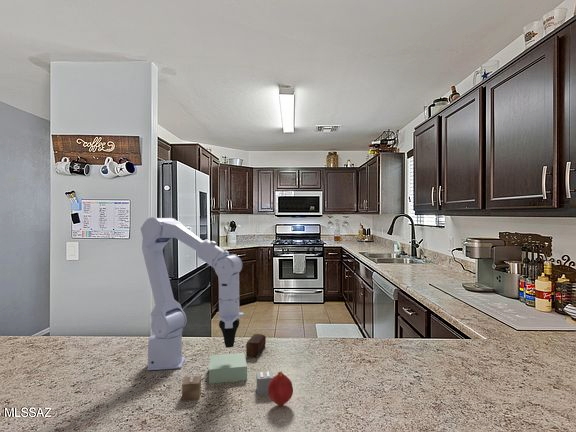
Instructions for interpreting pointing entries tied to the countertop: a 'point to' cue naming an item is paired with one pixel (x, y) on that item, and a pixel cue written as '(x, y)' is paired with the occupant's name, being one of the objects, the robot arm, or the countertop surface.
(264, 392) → the slate numbered block
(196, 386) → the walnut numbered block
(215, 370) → the sage block
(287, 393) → the onion
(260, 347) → the brick
